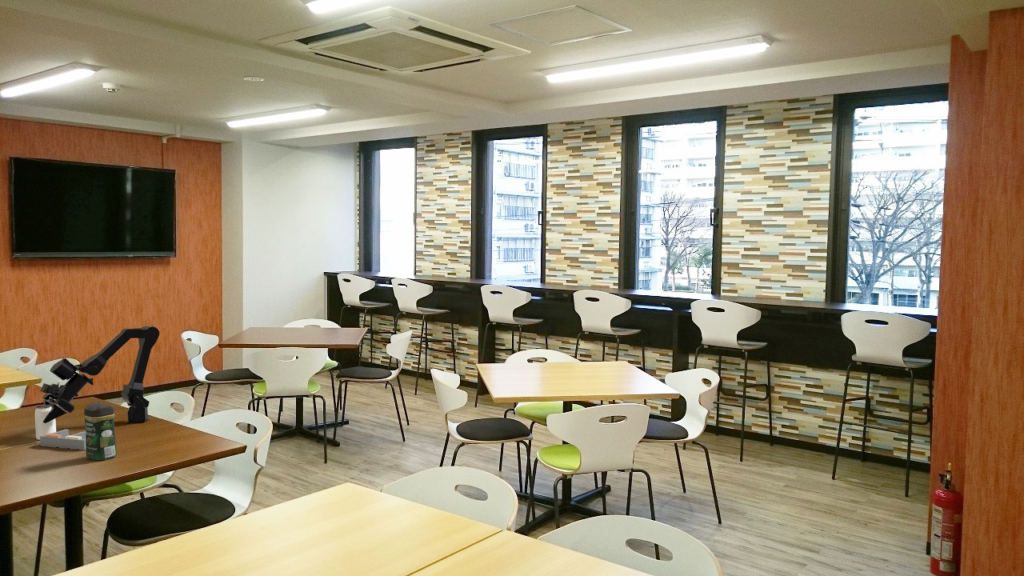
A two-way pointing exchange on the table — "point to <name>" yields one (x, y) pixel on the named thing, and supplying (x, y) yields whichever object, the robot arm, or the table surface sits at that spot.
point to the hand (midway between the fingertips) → (41, 421)
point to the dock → (64, 440)
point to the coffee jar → (100, 431)
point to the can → (39, 418)
